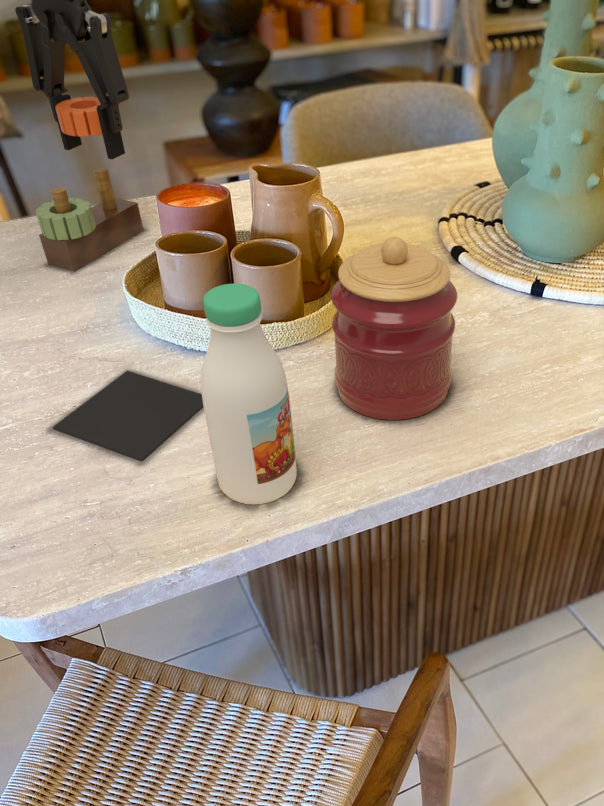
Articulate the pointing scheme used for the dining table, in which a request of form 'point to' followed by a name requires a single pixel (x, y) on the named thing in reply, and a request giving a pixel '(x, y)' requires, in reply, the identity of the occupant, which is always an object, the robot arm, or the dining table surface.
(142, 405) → the mat
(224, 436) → the milk bottle
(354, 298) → the kitchen canister
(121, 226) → the peg rack
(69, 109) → the orange gear
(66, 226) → the green disc
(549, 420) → the dining table surface
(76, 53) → the robot arm
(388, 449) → the dining table surface
